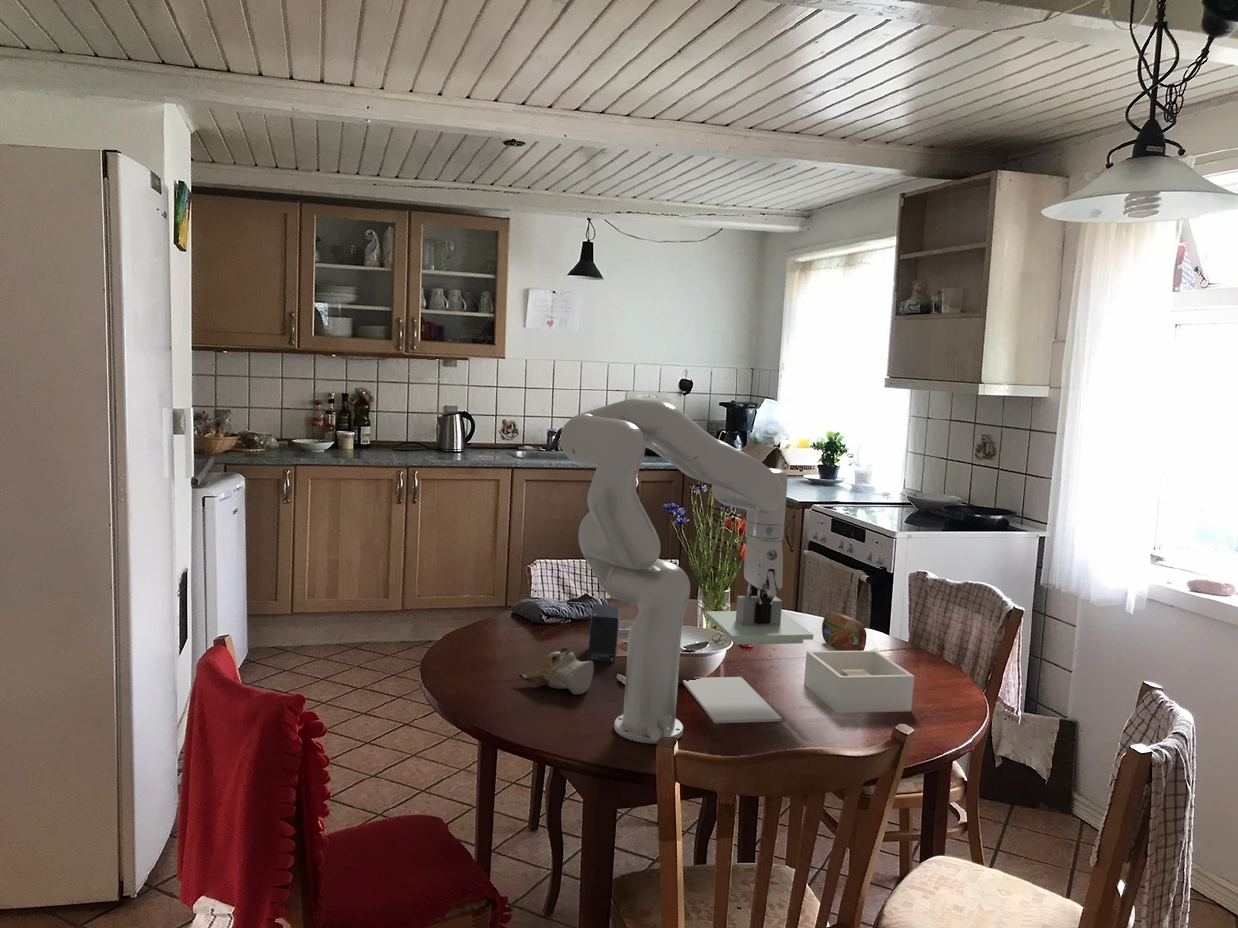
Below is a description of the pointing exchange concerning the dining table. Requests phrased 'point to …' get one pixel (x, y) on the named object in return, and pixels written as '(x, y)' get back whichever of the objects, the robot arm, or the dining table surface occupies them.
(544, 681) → the ceramic sculpture
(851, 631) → the tin
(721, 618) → the lid
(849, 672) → the ash block
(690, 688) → the mat
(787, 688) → the dining table surface
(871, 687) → the storage box
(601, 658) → the small box
